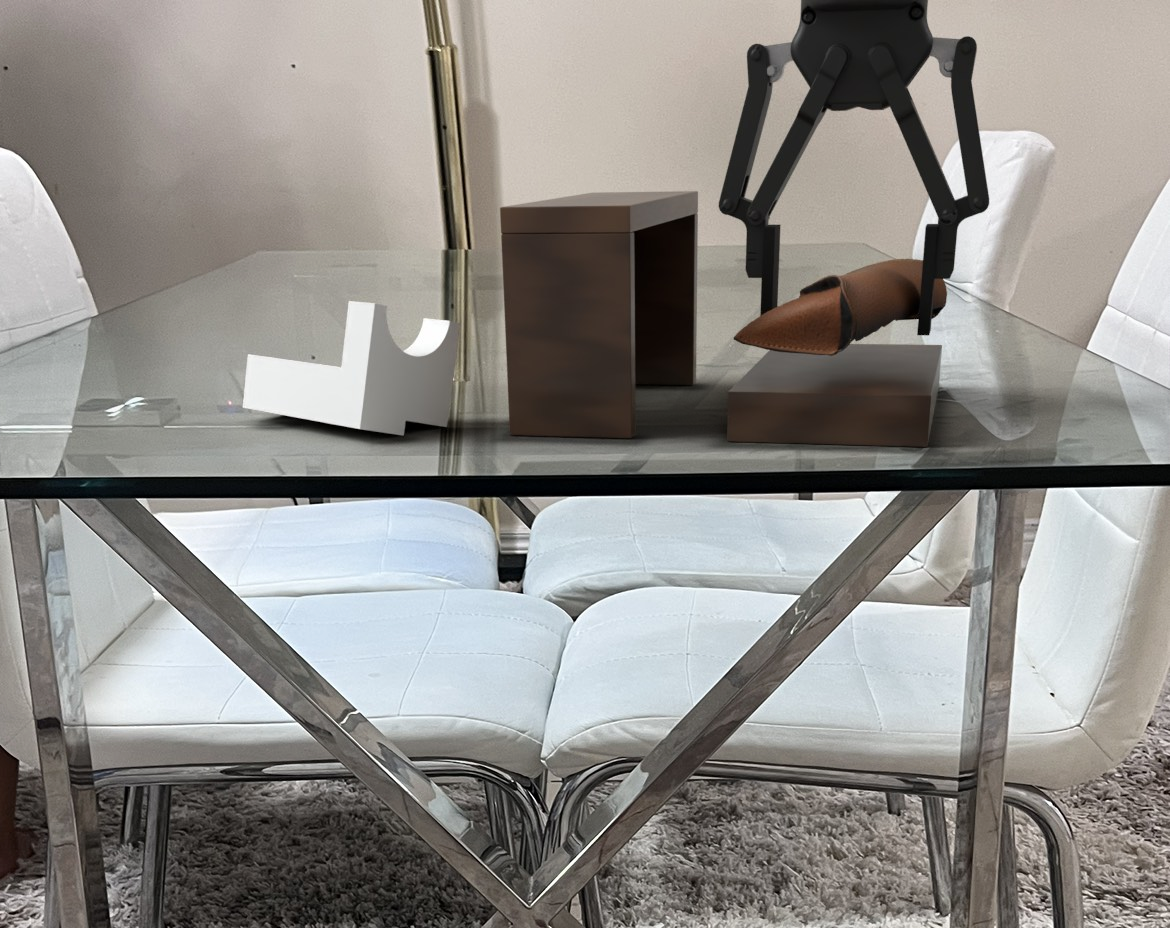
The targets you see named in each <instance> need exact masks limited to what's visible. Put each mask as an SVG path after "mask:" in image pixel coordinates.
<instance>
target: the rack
mask: <svg viewBox="0 0 1170 928" xmlns="http://www.w3.org/2000/svg"><path fill="white" fill-rule="evenodd" d="M698 212H699V192H698V190H683V191H682V190H681V191H679V190H678V191H677V190H676V191H675V190H674V191H615V192H606V191H605V192H588V193H587V192H586V193H581V194H575V195H568V196H562V197H556V198H550V199H544V200H537V201H530V202H524V203H519V204H512V205H511V204H510V205H505V206H500V207H499V218H500V219H499V220H500V221H499V222H500V236H501V237H500V241H501V243H500V244H501V263H502V265H501V266H502V286H503V287H502V288H503V309H504V331H505V332H504V335H505V351H506V352H505V354H506V355H505V357H506V377H507V378H506V379H507V380H506V381H507V401H508V421H509V422H508V423H509V435H510V436H521V437H522V436H524V437H555V438H556V437H558V438H559V437H562V438H594V439H595V438H596V439H629V440H630V439H633V438H634V437H635V436H636V434H637V432H636V431H637V427H636V424H637V423H636V421H637V419H636V417H637V415H636V385H646V386H647V385H649V386H650V385H651V386H652V385H654V386H656V385H657V386H659V385H660V386H695V384H696V383H697V339H698V338H697V337H698V334H697V331H698V329H697V328H698V324H697V323H698V322H697V321H698V319H697V318H698V245H699V244H698V241H699V240H698V239H699V238H698V235H699V233H698V231H699V230H698V228H699V214H698ZM942 355H943V345H942V344H901V343H900V344H899V343H898V344H894V343H892V344H891V343H890V344H889V343H881V344H880V343H876V344H875V343H850V344H849V345H848V347H847V348H845V349H844V350H843V351H841V352H838V353H837V354H836V355H833V356H830V355H813V354H801V353H787V352H777V351H772V350H768V351H767V352H766V354H764V355H763V356H762V357H761V358H760V359H759V360H758V361H757V362H756V363H755V364H754V365H753V366H752V367H751V368H750V369H749V370H748V371H747V372H746V373H745V374H744V375H743V376H742V377H741V378H740V379H739V380H738V381H737V382H736V383H735V384H734V385H733V386H732V387H731V388H730V389H729V390H728V392H727V423H726V424H727V425H726V426H727V427H726V428H727V429H726V430H727V431H726V442H730V443H731V442H733V443H770V444H771V443H772V444H802V445H804V444H805V445H810V444H811V445H838V446H839V445H841V446H843V445H844V446H876V447H877V446H878V447H910V448H911V447H912V448H916V447H917V448H928V445H929V441H930V440H929V439H930V435H931V430H932V424H933V420H934V414H935V409H936V403H937V398H938V392H939V389H940V388H939V387H940V376H941V364H942Z"/></svg>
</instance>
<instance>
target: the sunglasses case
mask: <svg viewBox="0 0 1170 928" xmlns="http://www.w3.org/2000/svg"><path fill="white" fill-rule="evenodd" d="M922 267H923V259H917V258H916V259H915V258H897V259H896V258H894V259H889V260H883V261H880V262H876V263H872V264H868V265H865V266H862V267H860V268H857V269H854V270H852V271H850V272H847V273H845V274H843V275H837V274H830V275H827V276H824V277H821V278H820V279H818V280H817V281H815V282H813V283H810V284H808V285H806V286H805V287H803V288H801V289H800V290H799V296H798V297H797V298H794V299H792V300H789V301H787V302H785V303H782V304H781V305H777V307H776V308H774V309H772V310H770V311H768V312H766V313H764V314H763V315H761V316H760V315H759V317H757V318H755V319H754V320H752V321H750V322H748V324H747V325H745V326H744V327H742V328H741V329H740V330H739V331H738V332H736V334H735V336H733V341H735V342H738V343H739V344H741V345H746V346H752V347H755V348H759V349H764V350H768V351H769V350H772V351H777V352H787V353H801V354H813V355H830V356H833V355H836V354H837V353H838V352H841V351H843V350H844V349H845V348H847V347H848V345H849V344H852V342H853V341H855V342H859V341H861V340H863V339H864V338H867V337H869V336H870V335H872V334H873V333H876V332H878V331H879V330H880V329H881V328H885V327H887V326H888V325H889V324H891V323H892V322H894V321H896V322H898V321H910V320H912V321H913V320H918V318H919V305H920V293H921V280H922ZM947 297H948V291H947V285H946V282H945V279H935V283H934V296H933V308H932V320H934V319H935V318H936V317H937V316H938V315H939V314H940V313H941V312H942V310H943V309H944V308H945V307H946V304H947Z"/></svg>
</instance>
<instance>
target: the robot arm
mask: <svg viewBox="0 0 1170 928" xmlns="http://www.w3.org/2000/svg"><path fill="white" fill-rule="evenodd" d="M928 5H929V0H800V18H799V23H798V27H797V30H796V33H795V34H794V36H793V38H792V40H791V41H790V42H782V43H774V44H768V45H764V44H762V43H754V44H752V45H751V46H749V48H748V49H747V51H746V67H747V68H746V69H747V83H748V85H747V91H746V95H745V99H744V101H743V107H742V109H741V114H740V118H739V122H738V125H737V130H736V134H735V137H734V142H733V144H732V145H733V146H732V150H731V153H730V156H729V161H728V165H727V168H726V173H725V177H724V181H723V184H722V187H721V188H722V189H721V193H720V197H719V200H718V210H719V212H720V213H721V214H722V215H724V216H726V215H727V216H730V217H732V218H734V219H737V220H739V221H741V222H742V223H743V225H744V226H745V229H746V240H745V241H746V242H745V272H746V275H747V278H748V279H761V284H760V315H759V317H760V316H761V315H763V314H764V313H766V312H768V311H770V310H772V309H774V308H776V307H778V303H779V302H778V301H779V300H778V299H779V279H780V278H779V273H780V251H781V249H780V245H781V224H769V220H770V219H771V215H772V214H773V211H774V209H775V207H776V205H777V203H778V201H779V200H780V198H781V197H782V194H783V192H784V190H785V189H786V187H787V185H788V183H789V181H790V179H791V177H792V175H793V173H794V171H795V169H796V168H797V166H798V164H799V162H800V160H801V158H802V156H803V155H804V153H805V151H806V149H807V146H808V145H809V144H810V141H811V140H812V137H813V135H814V134H815V131H816V130H817V128H818V126H819V125H820V123H821V122H822V121H823V118H824V116H825V114H826V113H827V112H828V110H829V111H830V112H847V111H850V110H854V109H856V108H860V109H865V110H869V111H885V110H886V109H889V108H890V110H891V113H892V114H893V115H892V116H893V118H894V119H895V121H896V123H897V126H898V127H899V130H900V132H901V135H902V137H903V139H904V142H905V144H906V146H907V148H908V151H909V154H910V156H911V158H912V160H913V162H914V165H915V168H916V169H917V172H918V174H919V176H920V179H921V181H922V184H923V186H924V188H925V191H926V193H927V195H928V197H929V200H930V201H931V204H932V206H933V209H934V211H935V213H936V216H937V223H926V225H925V228H924V229H925V231H924V242H923V255H922V260H923V267H922V280H921V293H920V305H919V318H918V319H917V333H916V334H917V335H916V336H930V334H931V331H932V320H933V319H932V308H933V296H934V283H935V279H943V280H950V279H951V277H952V275H953V273H954V270H955V261H956V250H957V241H958V240H957V239H958V228H959V226H960V224H961V223H962V222H963V221H964V220H966V219H968V218H970V217H973V216H976V215H979V214H982V213H984V212H986V211H987V210H988V207H989V206H990V194H989V187H988V182H987V175H986V169H985V161H984V154H983V149H982V148H983V147H982V141H981V135H980V128H979V122H978V115H977V109H976V108H977V107H976V102H975V96H974V87H973V82H972V80H973V75H974V69H975V65H976V64H975V63H976V58H977V52H978V44H977V41H976V39H974V37H971V36H967V35H966V36H963V37H961V38H951V37H950V38H949V37H937V36H936V37H935V36H933V34H932V31H931V30H930V27H929V23H928ZM930 57H933V58H935V59H936V60H937V61H938V67H939V72H940V74H941V75H942V76H943V77H945V78H948V79H950V89H951V98H952V103H953V111H954V117H955V123H956V124H955V125H956V131H957V136H958V143H959V150H960V157H961V162H962V168H963V175H964V181H965V187H966V194H967V195H964V196H962V197H960V198H957V199H955V198H954V194H953V192H952V190H951V187H950V185H949V182H948V179H947V178H946V176H945V173H944V171H943V169H942V167H941V164H940V162H939V159H938V156H937V154H936V152H935V150H934V147H933V145H932V142H931V141H930V138H929V136H928V133H927V131H926V129H925V126H924V124H923V122H922V119H921V117H920V114H919V112H918V109H917V107H916V104H915V102H914V100H913V97H912V95H911V92H910V89H909V88H908V87H909V86H910V85H911V83H912V82H913V80H914V79H915V78H916V76H917V75H918V73H919V72H920V70H921V69H922V68H923V67H924V65H925V64H926V62H927V61H928V60H929V58H930ZM790 62H793V63H794V65H795V66H796V68H797V70H798V71H799V72H800V74H801V75H802V77H803V79H804V80H805V82H806V84H807V86H808V87H809V89H808V91H807V94H806V96H804V99H803V101H802V103H801V105H800V107H799V109H798V111H797V114H796V116H795V119H794V120H793V123H792V124H791V125H790V128H789V130H788V132H787V134H786V136H785V138H784V139H783V142H782V143H781V145H780V147H779V149H778V151H777V153H776V155H775V157H774V158H773V160H772V163H771V165H770V166H769V169H768V170H767V173H766V174H765V176H764V178H763V179H762V182H761V184H760V186H759V187H758V189H757V192H756V193H755V196H754V197H753V199H749V198H747V197H746V194H747V189H748V187H749V182H750V179H751V175H752V171H753V167H754V164H755V159H756V156H757V153H758V148H759V145H760V141H761V137H762V133H763V129H764V126H765V121H766V118H767V115H768V111H769V106H770V102H771V99H772V94H773V87H774V86H773V85H774V84H775V83H778V82H779V81H781V79H783V76H784V73H785V69H786V66H787V65H788V64H789V63H790Z"/></svg>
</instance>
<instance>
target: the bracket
mask: <svg viewBox="0 0 1170 928" xmlns="http://www.w3.org/2000/svg"><path fill="white" fill-rule="evenodd" d="M347 305H348V306H347V313H346V322H345V331H344V341H343V348H342V357H341V366H335V365H328V364H321V363H315V362H314V363H313V362H307V361H300V360H292V359H285V358H279V357H271V356H264V355H257V354H250V353H248V354H247V359H246V367H245V368H246V369H245V379H244V388H243V389H244V390H243V401H242V409H249V410H254V411H259V412H266V413H269V414H270V413H271V414H276V415H281V416H287V417H291V418H298V419H303V420H308V421H314V422H320V423H324V424H329V425H335V426H341V427H345V428H346V427H347V428H351V429H356V430H357V429H358V430H364V431H370V432H378V433H384V434H391V435H397V436H404V435H405V429H406V422H411V423H419V424H425V425H431V426H439V427H443V428H444V427H445V428H447V427H448V423H449V415H450V408H451V399H452V393H453V386H454V385H453V384H454V376H455V370H456V369H455V368H456V361H457V353H458V348H459V347H458V346H459V340H460V332H461V325H462V324H461V323H460V322H457V321H452V320H448V319H447V320H446V319H437V318H436V319H435V318H427V317H423V319H422V325H421V328H420V330H419V333H418V336H417V337H416V339H415V340H414V341H413V342H412V344H411V345H410V346H409V347H407V348H406V349H404V350H402V349H401V348H400V346H399V345H397V343H396V342H395V339H393V337H392V334H391V331H390V328H389V325H388V324H389V323H388V317H387V315H388V314H387V311H388V307H387V306H388V305H384V304H381V303H374V302H364V301H356V300H355V301H353V300H348V304H347Z"/></svg>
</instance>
